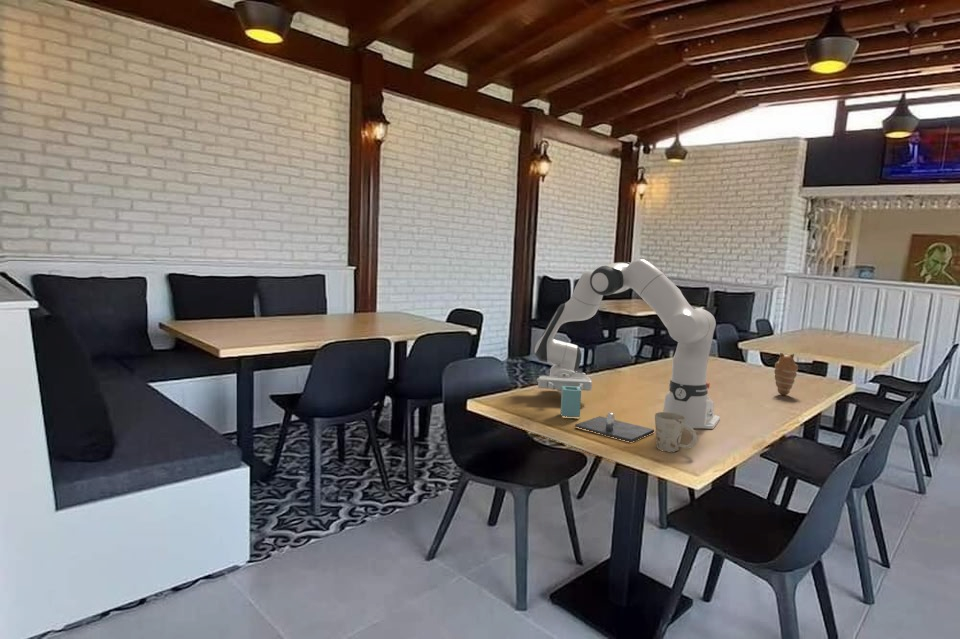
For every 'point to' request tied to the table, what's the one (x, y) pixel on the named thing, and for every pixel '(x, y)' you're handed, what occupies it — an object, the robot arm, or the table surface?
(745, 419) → the table surface
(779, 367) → the cat ice cream
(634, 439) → the plate
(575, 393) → the sleeve
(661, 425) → the mug
